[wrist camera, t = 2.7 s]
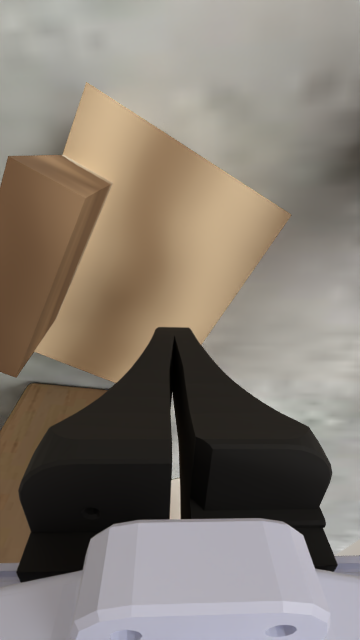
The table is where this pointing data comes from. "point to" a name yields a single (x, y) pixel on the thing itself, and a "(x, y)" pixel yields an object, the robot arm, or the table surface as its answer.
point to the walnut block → (41, 245)
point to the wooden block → (29, 452)
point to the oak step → (153, 241)
